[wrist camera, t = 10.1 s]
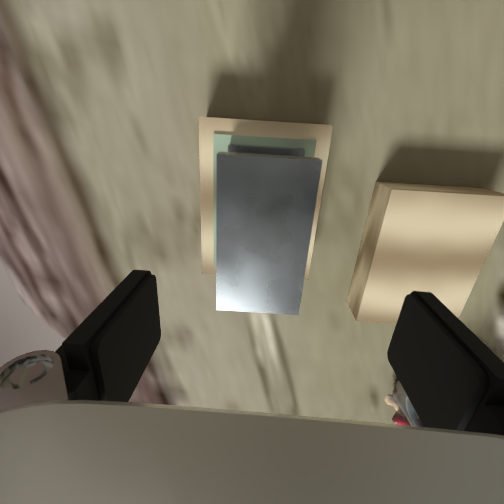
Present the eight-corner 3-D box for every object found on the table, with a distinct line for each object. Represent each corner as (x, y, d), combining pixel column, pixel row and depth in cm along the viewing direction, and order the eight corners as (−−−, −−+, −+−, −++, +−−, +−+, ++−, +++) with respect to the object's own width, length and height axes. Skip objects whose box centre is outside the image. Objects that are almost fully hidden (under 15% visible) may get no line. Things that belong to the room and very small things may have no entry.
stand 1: (302, 263, 26) (308, 281, 24) (208, 257, 26) (201, 274, 24) (323, 124, 21) (334, 125, 18) (206, 117, 21) (198, 116, 18)
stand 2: (435, 306, 28) (454, 326, 25) (346, 301, 28) (356, 320, 25) (484, 188, 23) (514, 197, 20) (376, 181, 23) (391, 189, 20)
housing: (288, 264, 23) (298, 314, 17) (227, 260, 23) (216, 309, 17) (302, 148, 19) (322, 160, 13) (229, 143, 19) (216, 153, 13)
